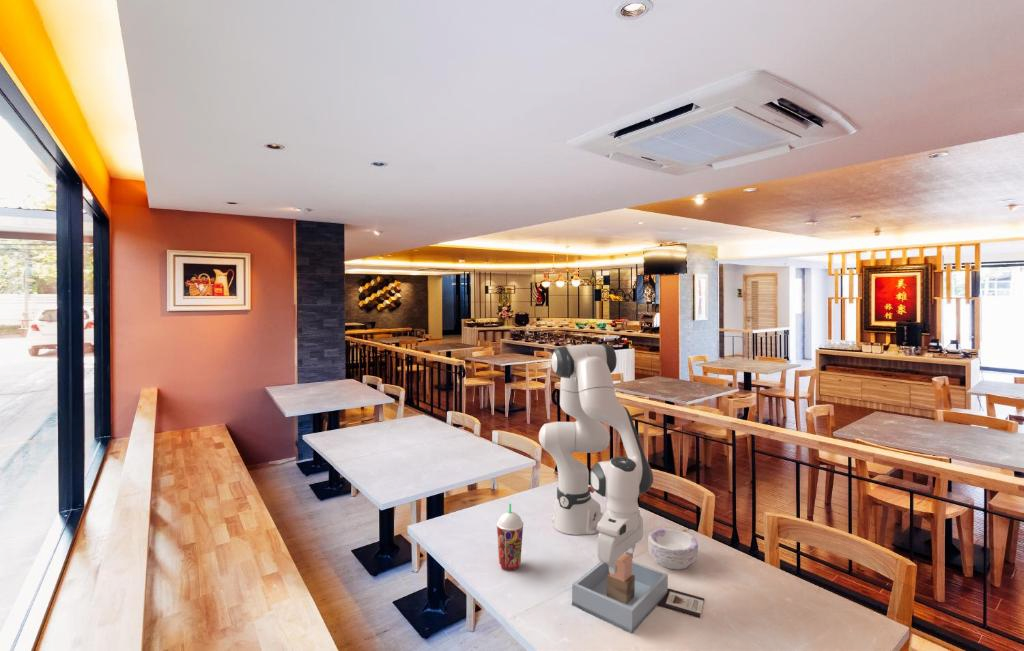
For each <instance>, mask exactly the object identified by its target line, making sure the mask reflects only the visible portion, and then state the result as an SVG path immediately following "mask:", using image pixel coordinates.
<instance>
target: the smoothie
mask: <svg viewBox="0 0 1024 651" xmlns="http://www.w3.org/2000/svg"><path fill="white" fill-rule="evenodd" d="M508 505H509V506H508V511H506V512H504V513H503V514H501V515H500V517H499V519H498V520H497V522H496V534H497V552H498V563H499V565H500V567H501V569H503V570H504V571H505V570H506V571H514V570H517V569H518V568H519V566H520V564H521V560H522V558H521V557H522V544H523V534H524V533H523V532H524V531H523V530H524V522H523V521H522V518H521V517H520V515H519V514H518V513H516V512H514V511H512V503H509V504H508Z"/></svg>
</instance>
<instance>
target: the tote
mask: <svg viewBox="0 0 1024 651" xmlns="http://www.w3.org/2000/svg"><path fill="white" fill-rule="evenodd" d="M608 574H609V566H608V564H606V563H604V562H601V561H600V562H598V563H597V564H596V565H595V566H593V567H592V568H591V569H590V570H588V571H587V572H586V573H584V574H583V575H582V576H580V577H579V578H578V579H577V580H575V582H573V583H572V584H571V586H572V587H571V605H572V606H573V607H575V608H577V609H579V610H581V611H583V612H585V613H588V614H590V615H592V616H594V617H596V618H598V619H600V620H603V621H604V622H607V623H609V624H610V625H613V626H615V627H617V628H619V629H622V630H623V631H625V632H627V633H629V634H633V633H634V632H635V631H636V630H637V628H639V626H641V624H642V623H643V622H644V621H645V620H646V619H647V618H648V617H649V615H650V614H651V613H653V611H654V610H655V609H656V608H657V607H658V606H657V604H658V603H659V602H660V600H661V599H662V598H663V597H664V596H665V595H666V594H667V588H668V583H669V582H668V580H669V579H668V578H669V577H668V576H669V574H668V573H665V572H663V571H661V570H658V569H655V568H652V567H649V566H647V565H645V564H642V563H639V562H636V561H633V560H632V575H634V576H635V592H634V597H633V598H632V599H631V600H630V601H629V602H628V603H627V604H624V603H621V602H619V601H617V600H614V599H612V598H610V597H608V596H607V575H608Z"/></svg>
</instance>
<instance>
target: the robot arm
mask: <svg viewBox="0 0 1024 651" xmlns="http://www.w3.org/2000/svg"><path fill="white" fill-rule="evenodd" d="M550 362H551V363H550V365H551V369H552V372H553V373H554V374H555V376H557V377H559V378H560V381H559V382H560V384H559V386H560V387H559V406H560V408H561V410H562V411H563V412H564V413H565V414H566V415H568V416H571V417H572V418H574V419H575V420H576V421H551V422H547V423H544V424H543V425H542V426H541V427H540V430H539V432H538V441H539V444H540V445H541V447H542V449H543V450H544V451H546V452H547V453H549V455H550V456H551V457H552V458H553V460H554V462H555V465H556V468H557V469H556V470H557V479H558V483H557V484H558V486H557V488H556V499H555V502H554V506H553V507H554V509H553V515H552V516H550V517H551V519H550V520H551V521H552V523H553V524H552V527H553V528H554V529H555V530H556V531H557V532H559V533H563V534H566V535H567V534H568V535H572V536H573V535H575V536H578V535H595V534H596V533H597V532H599V533H598V536H597V546H596V547H597V558H598V560H599V561H600V562H604V563H606V564H608V566H609V573H611V574H615V573H616V572H617V566H615V562H616V560H617V559H618V558H619V557H620V556H621V555H623V554H624V553H626V554H628V555H631V556H632V559H633V558H634V552H635V549H636V544H637V543H638V542H640V541H641V540H642V538H643V535H644V524H643V517H642V515H641V511H640V507H639V506H640V505H639V504H638V503H639V502H638V500H639V499H638V498H639V497H640V496H639V495H644V494H646V493H647V492H648V491H649V489H651V487H652V485H653V482H654V474H653V470H652V468H651V465H650V464H649V461H648V459H647V458H646V454H645V452H644V449H643V447H642V443H641V440H640V438H639V435H638V434H639V433H638V432H637V429H636V426H635V424H634V420H633V418H632V415H631V414H630V413H631V412H630V411H629V410H628V409H629V408H627V407H626V406H624V405H623V404H622V403H621V402H620V401H619V399H618V396H617V394H616V391H615V386H614V382H613V377H612V373H613V372H615V370H616V367H617V354H616V351H615V349H614V347H612V345H609V344H603V343H600V344H598V343H597V344H595V343H585V344H584V343H582V344H576V345H569V346H565V345H563V346H559V347H556V348H555V349H554V350H553V351H552V356H551V360H550ZM603 423H604V424H603ZM605 424H606V425H608V426H610V427H612V428H614V429H615V430H616V431H617V432H618V433H619V435H620V438H621V441H622V444H623V447H624V450H625V453H626V456H627V457H624V456H615V457H612V458H611V459H609V460H603V461H597V462H596V463H595V464H593V466H591V469H590V471H589V469H588V467H587V465H586V464H585V463H584V462H583V461H580V460H579V459H577V458H575V457H573V454H575V453H579V454H580V453H585V454H586V453H587V454H592V453H593V454H594V453H599V452H604V451H606V450H607V448H608V446H609V444H610V440H611V435H610V431H609V429H608V427H606V425H605ZM589 483H590V485H589ZM594 492H595V493H597V495H600V496H601V497H602V498H603V497H605V498H606V500H607V501H606V506H605V508H606V509H605V511H604V513H603V512H601V511H602V509H601V505H600V503H599V502H598V501H597V500H595V499H594V498H593V497H592V494H594ZM591 493H592V494H591Z"/></svg>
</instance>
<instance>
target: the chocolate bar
mask: <svg viewBox="0 0 1024 651" xmlns="http://www.w3.org/2000/svg"><path fill="white" fill-rule="evenodd" d="M704 602H705V598H704V597H702V596H698V595H694V594H690V593H687V592H682V591H679V590H675V589H672V588H668V587H667V594H666V595H665V596H664V597H663V598H662V599H661V600H660V602H659V603H658V604H657V607H660V608H663V609H668V610H671V611H675V612H678V613H681V614H684V615H687V616H692V617H695V618H699V619H700V618H701V614H702V610H703V606H704Z"/></svg>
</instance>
